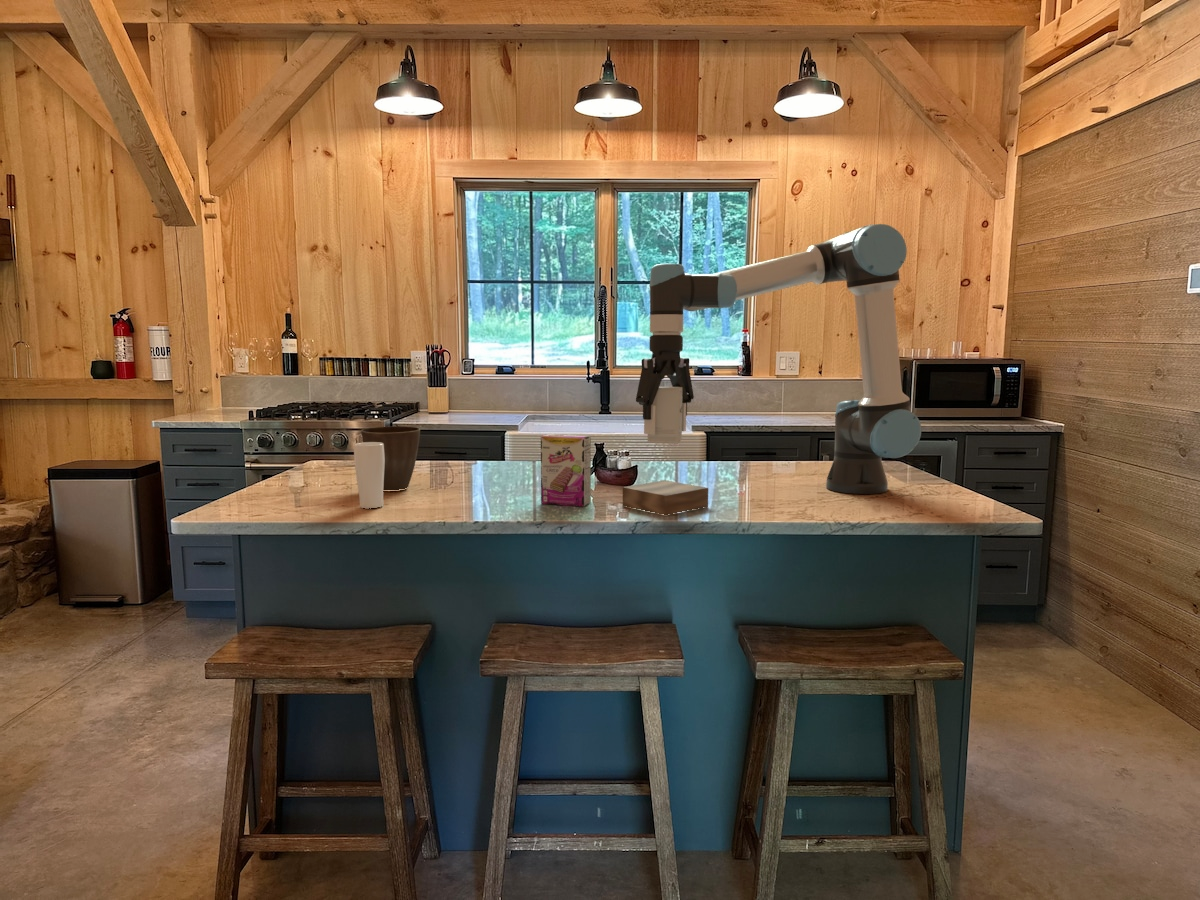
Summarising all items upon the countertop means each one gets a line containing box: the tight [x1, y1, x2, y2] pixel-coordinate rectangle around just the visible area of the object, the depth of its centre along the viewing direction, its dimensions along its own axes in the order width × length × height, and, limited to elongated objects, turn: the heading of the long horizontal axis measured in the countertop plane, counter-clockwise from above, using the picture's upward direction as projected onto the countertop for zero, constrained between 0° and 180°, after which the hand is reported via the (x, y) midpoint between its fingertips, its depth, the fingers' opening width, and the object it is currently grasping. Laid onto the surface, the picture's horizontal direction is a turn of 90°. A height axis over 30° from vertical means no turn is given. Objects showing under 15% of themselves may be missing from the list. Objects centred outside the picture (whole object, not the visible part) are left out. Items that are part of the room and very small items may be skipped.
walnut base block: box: [622, 479, 709, 515], centre depth 182 cm, size 14×14×5 cm
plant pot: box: [360, 425, 421, 490], centre depth 204 cm, size 15×15×16 cm
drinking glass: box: [353, 442, 385, 510], centre depth 182 cm, size 7×7×15 cm
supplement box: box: [647, 386, 683, 445], centre depth 179 cm, size 7×7×13 cm
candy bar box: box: [540, 433, 592, 508], centre depth 185 cm, size 11×5×16 cm, turn 71°
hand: (665, 432), depth 180 cm, fingers closed on supplement box, 10 cm apart
